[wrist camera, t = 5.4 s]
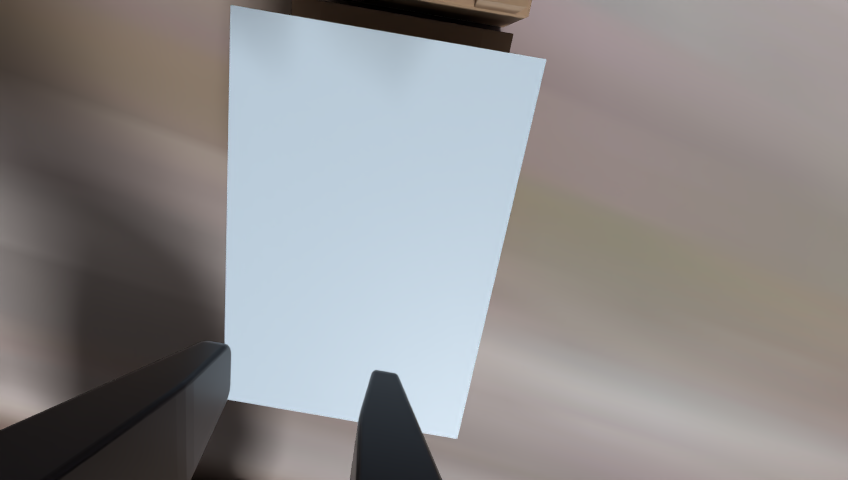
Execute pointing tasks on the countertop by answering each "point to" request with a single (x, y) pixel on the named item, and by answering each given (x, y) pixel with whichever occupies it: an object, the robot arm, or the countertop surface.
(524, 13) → the chisel box
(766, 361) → the countertop surface
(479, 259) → the lid
